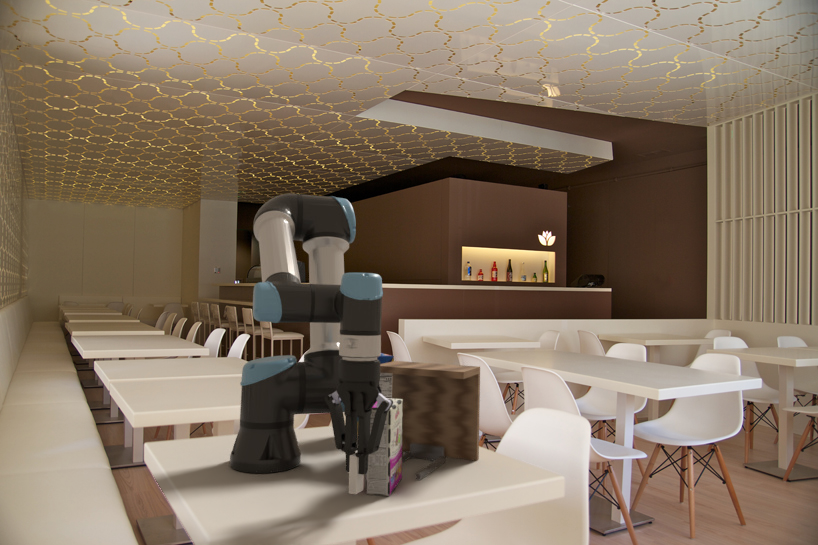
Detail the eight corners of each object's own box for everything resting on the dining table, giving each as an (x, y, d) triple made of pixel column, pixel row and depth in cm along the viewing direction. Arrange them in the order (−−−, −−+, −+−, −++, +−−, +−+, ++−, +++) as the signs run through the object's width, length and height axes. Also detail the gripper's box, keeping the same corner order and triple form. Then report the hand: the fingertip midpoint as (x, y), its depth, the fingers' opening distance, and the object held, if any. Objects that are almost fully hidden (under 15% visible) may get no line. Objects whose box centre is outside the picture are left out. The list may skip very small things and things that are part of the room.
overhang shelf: (352, 469, 123) (355, 369, 124) (393, 447, 142) (395, 360, 143) (448, 484, 114) (450, 376, 115) (478, 459, 133) (480, 366, 134)
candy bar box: (378, 477, 118) (380, 397, 119) (402, 479, 117) (404, 398, 118) (363, 494, 107) (366, 406, 108) (389, 497, 106) (391, 408, 107)
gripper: (317, 357, 102) (313, 492, 101) (382, 362, 97) (379, 504, 95) (339, 354, 109) (335, 480, 107) (401, 358, 103) (398, 490, 102)
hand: (356, 491), depth 101 cm, fingers closed
